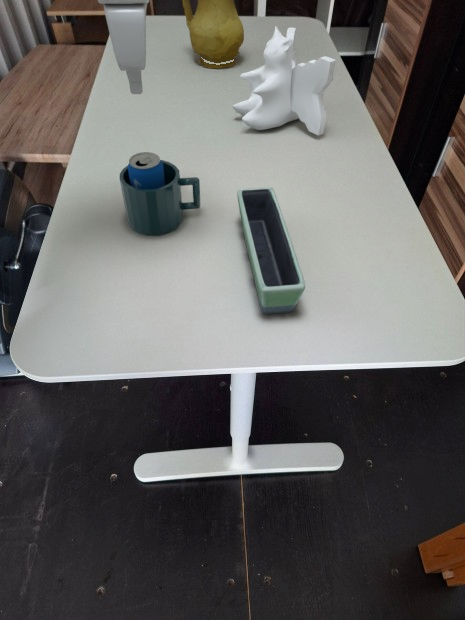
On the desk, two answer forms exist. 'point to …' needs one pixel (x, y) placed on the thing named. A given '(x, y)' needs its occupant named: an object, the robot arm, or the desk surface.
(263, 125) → the white faceted figurine
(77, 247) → the desk surface
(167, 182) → the teal faceted mug
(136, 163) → the beverage can
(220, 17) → the pitcher
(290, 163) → the desk surface
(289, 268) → the planter
